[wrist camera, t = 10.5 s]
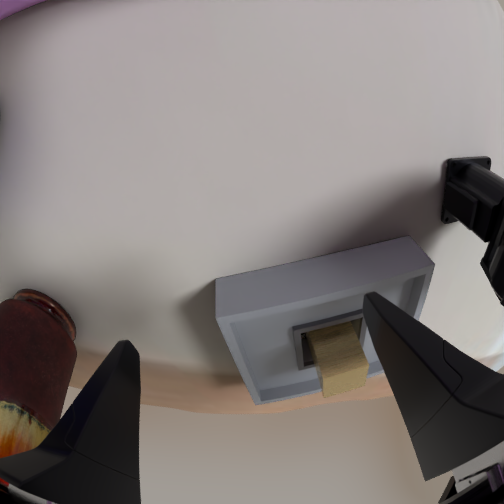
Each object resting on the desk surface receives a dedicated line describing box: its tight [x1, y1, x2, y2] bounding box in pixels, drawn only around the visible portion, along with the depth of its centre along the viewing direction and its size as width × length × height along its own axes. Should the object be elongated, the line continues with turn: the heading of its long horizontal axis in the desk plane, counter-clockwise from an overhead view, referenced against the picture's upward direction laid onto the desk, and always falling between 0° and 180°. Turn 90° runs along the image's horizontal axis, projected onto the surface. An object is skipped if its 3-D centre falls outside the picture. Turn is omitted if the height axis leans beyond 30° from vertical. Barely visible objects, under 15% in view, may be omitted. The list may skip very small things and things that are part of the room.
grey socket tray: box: [216, 236, 435, 405], centre depth 26 cm, size 18×16×4 cm
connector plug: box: [305, 321, 369, 398], centre depth 25 cm, size 4×4×8 cm
